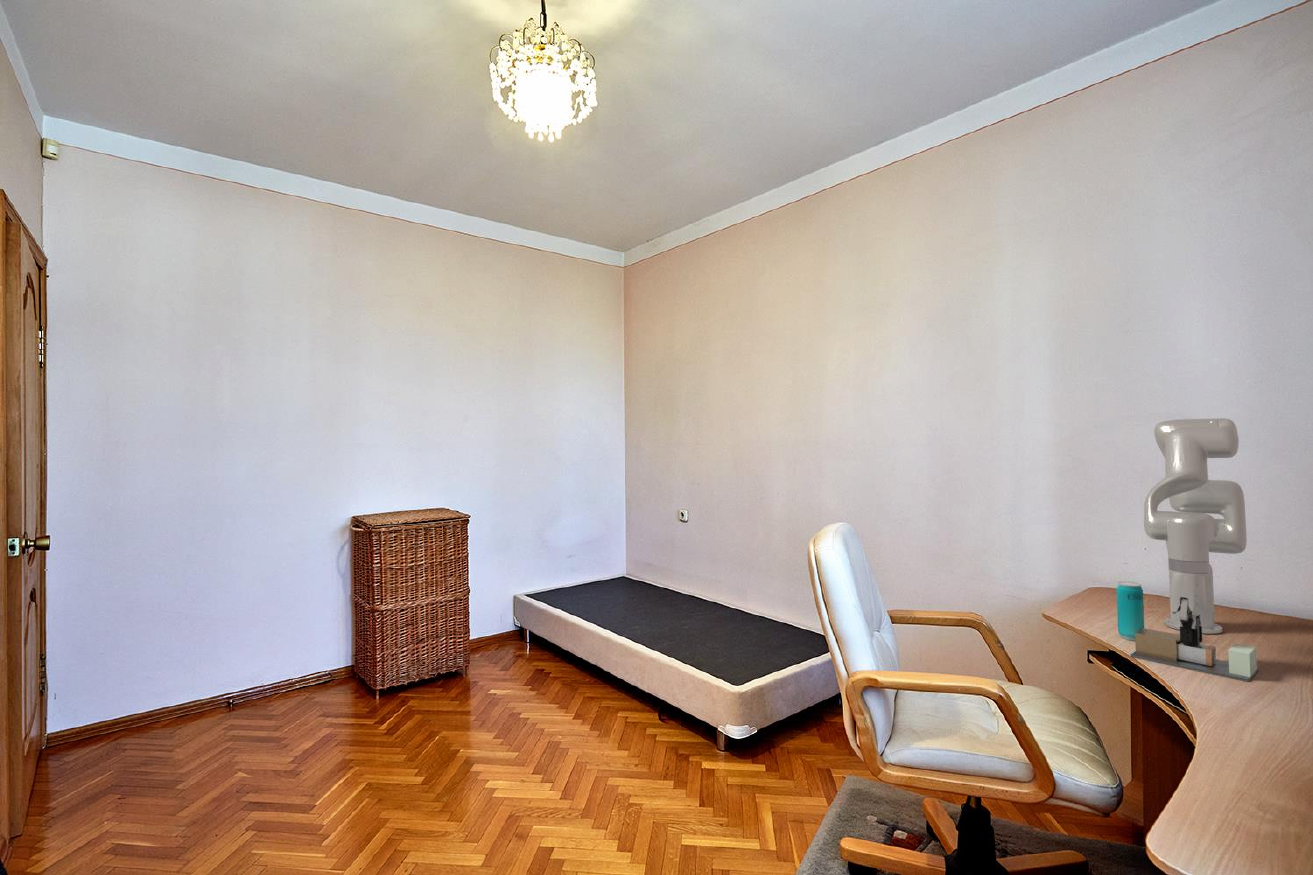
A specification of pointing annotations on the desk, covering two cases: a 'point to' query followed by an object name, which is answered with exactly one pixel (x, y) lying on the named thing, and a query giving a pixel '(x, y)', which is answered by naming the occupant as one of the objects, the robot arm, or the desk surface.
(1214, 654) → the grey slider block
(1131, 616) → the beverage can
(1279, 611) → the desk surface
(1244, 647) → the socket
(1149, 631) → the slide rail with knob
